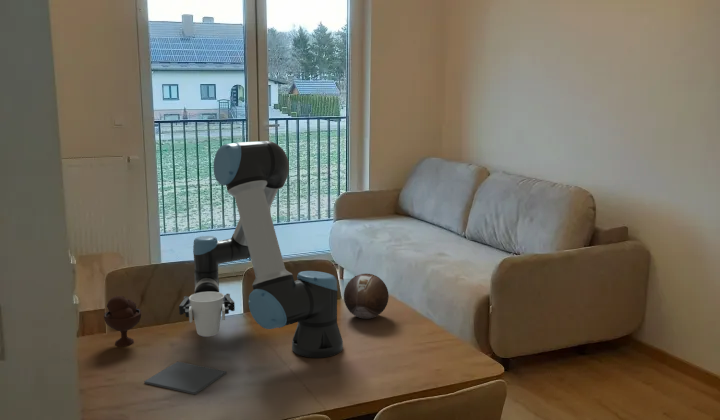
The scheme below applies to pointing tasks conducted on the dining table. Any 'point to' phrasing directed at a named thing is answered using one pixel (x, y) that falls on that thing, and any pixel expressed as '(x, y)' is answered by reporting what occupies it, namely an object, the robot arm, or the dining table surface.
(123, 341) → the ice cream bowl
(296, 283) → the robot arm
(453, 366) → the dining table surface
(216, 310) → the cup
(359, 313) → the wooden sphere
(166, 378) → the mat
